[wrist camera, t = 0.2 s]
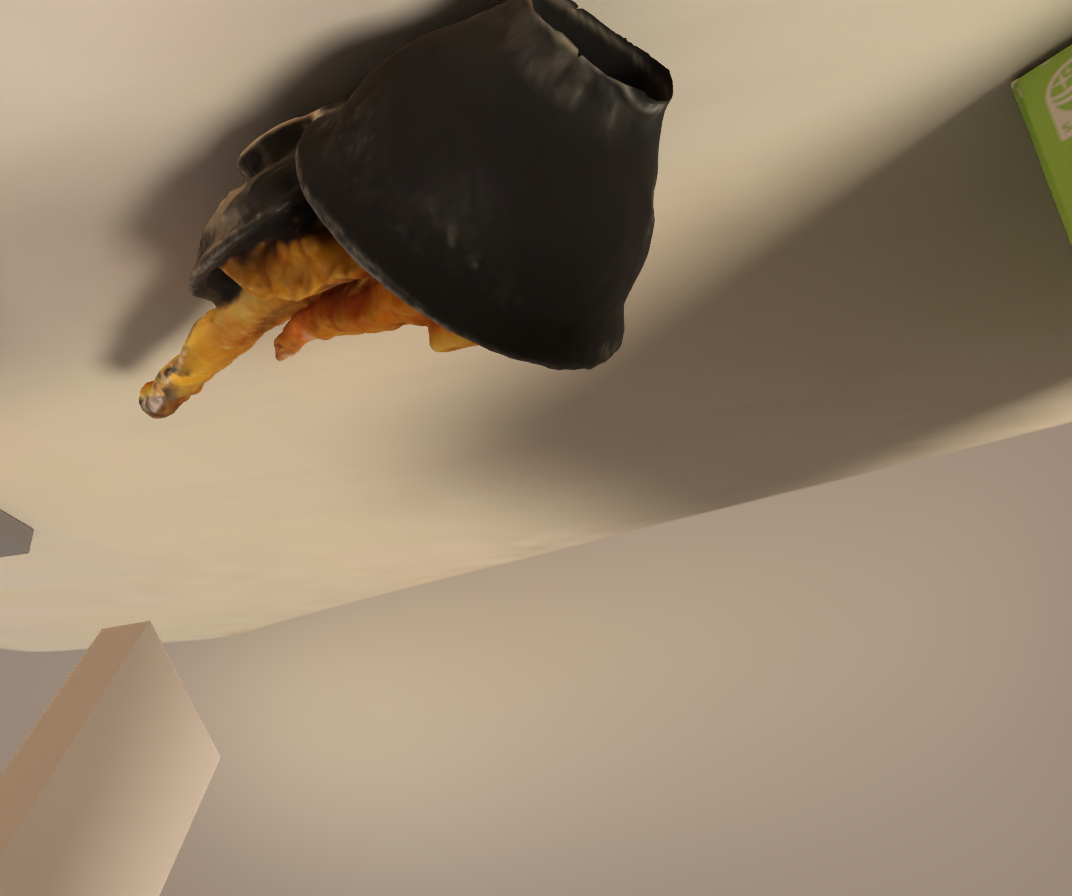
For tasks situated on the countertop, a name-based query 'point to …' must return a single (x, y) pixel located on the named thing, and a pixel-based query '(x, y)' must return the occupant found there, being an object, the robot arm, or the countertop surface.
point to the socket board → (14, 536)
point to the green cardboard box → (1051, 125)
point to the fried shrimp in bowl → (445, 202)
